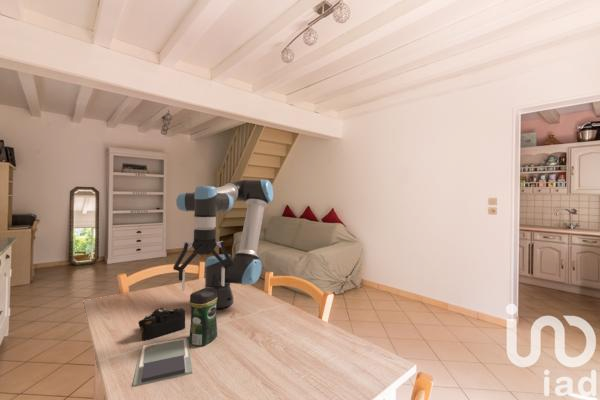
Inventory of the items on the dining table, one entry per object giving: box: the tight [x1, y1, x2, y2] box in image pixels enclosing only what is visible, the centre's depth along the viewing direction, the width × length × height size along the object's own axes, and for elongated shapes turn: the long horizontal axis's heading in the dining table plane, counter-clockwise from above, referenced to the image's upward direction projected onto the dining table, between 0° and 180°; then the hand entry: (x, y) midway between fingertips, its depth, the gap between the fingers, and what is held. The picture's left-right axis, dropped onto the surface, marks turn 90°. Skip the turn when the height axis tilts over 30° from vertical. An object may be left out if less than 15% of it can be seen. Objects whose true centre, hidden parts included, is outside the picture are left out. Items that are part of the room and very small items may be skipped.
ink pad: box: [140, 355, 187, 383], centre depth 82 cm, size 12×8×1 cm
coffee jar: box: [188, 287, 218, 347], centre depth 101 cm, size 10×8×19 cm
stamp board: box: [132, 337, 193, 387], centre depth 88 cm, size 15×22×1 cm
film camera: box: [138, 307, 186, 342], centre depth 106 cm, size 18×12×10 cm
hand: (203, 287), depth 100 cm, fingers open, 13 cm apart
